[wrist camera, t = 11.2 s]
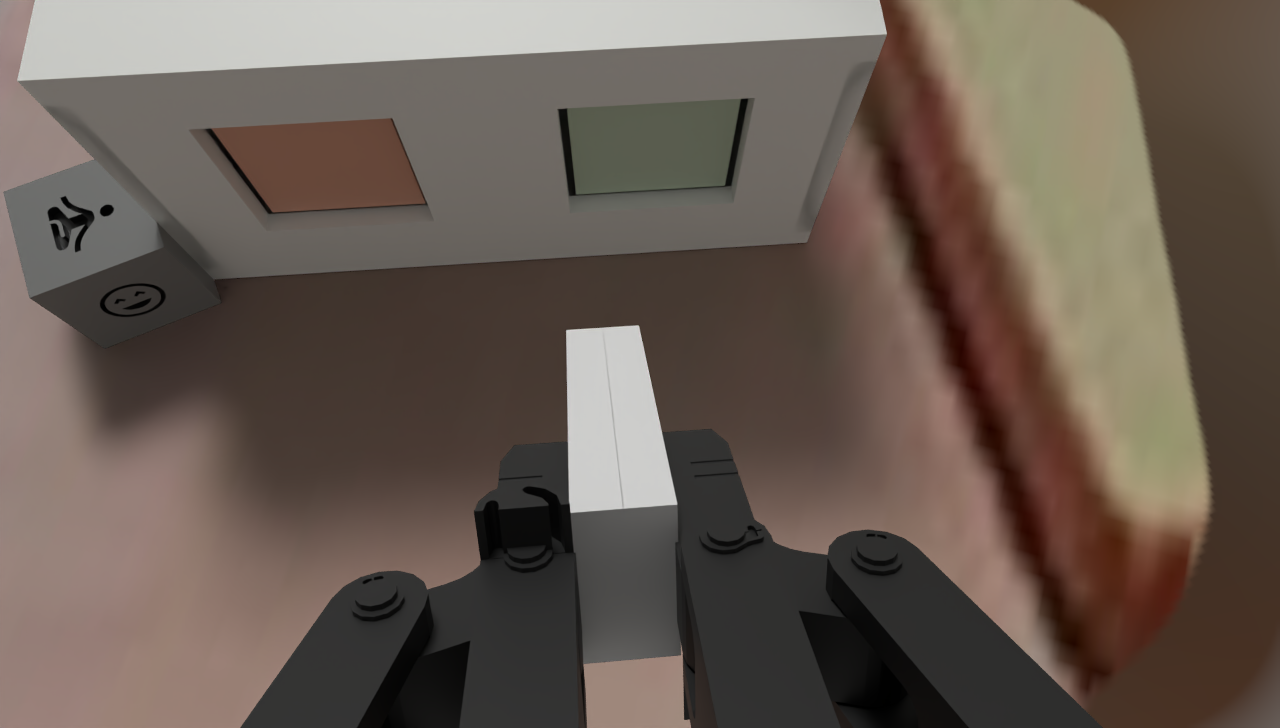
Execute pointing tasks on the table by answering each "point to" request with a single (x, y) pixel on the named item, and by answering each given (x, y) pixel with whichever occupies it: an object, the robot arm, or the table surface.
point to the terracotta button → (325, 164)
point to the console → (453, 117)
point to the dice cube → (102, 257)
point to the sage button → (652, 145)
